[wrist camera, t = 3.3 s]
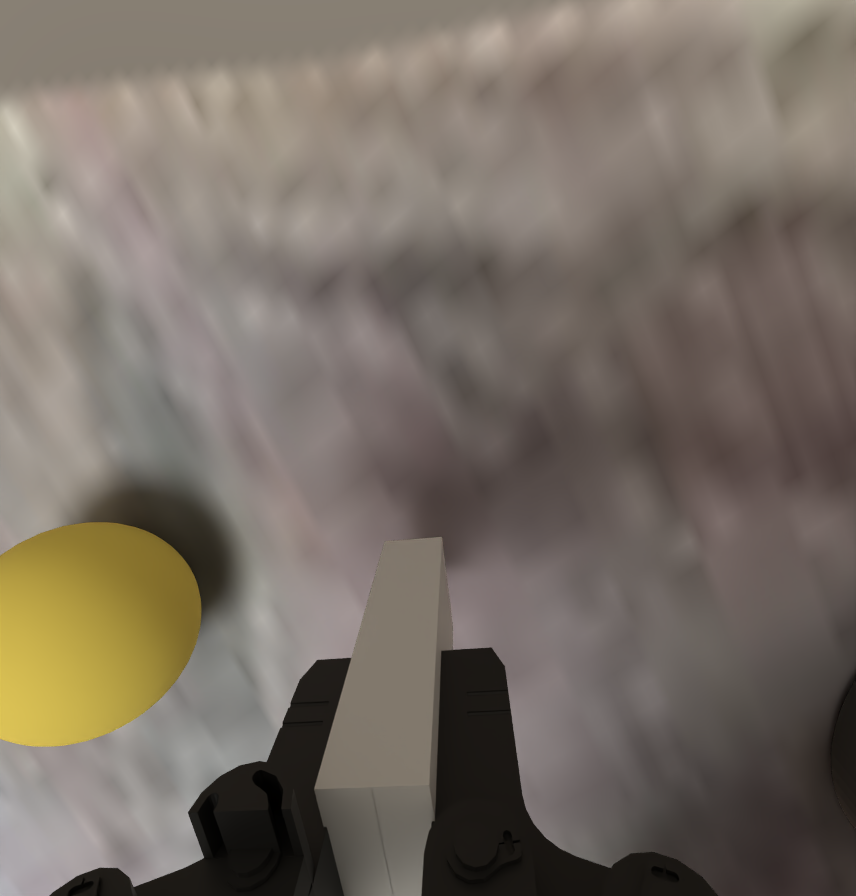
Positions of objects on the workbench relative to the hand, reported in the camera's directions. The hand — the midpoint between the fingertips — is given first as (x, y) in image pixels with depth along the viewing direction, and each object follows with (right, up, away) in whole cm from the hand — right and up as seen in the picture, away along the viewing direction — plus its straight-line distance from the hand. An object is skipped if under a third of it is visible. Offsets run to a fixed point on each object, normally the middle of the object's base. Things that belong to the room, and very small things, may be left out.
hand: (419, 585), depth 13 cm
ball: (-9, -1, 0) cm, 9 cm away
